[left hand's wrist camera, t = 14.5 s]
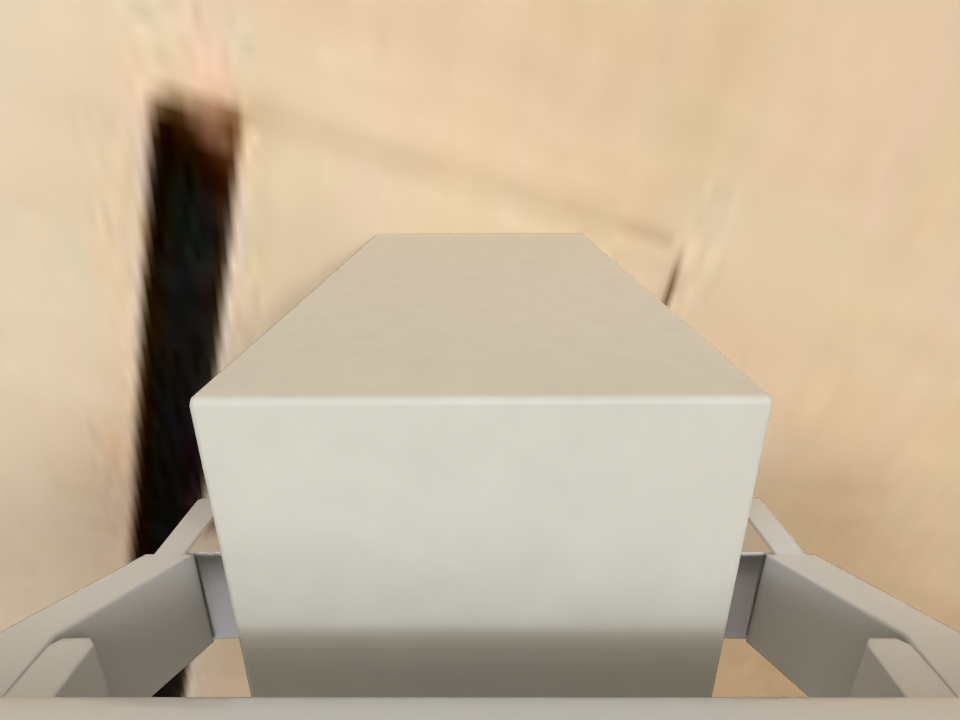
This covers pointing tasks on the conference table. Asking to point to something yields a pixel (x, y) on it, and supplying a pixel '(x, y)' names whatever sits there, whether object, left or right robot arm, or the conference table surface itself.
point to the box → (481, 479)
